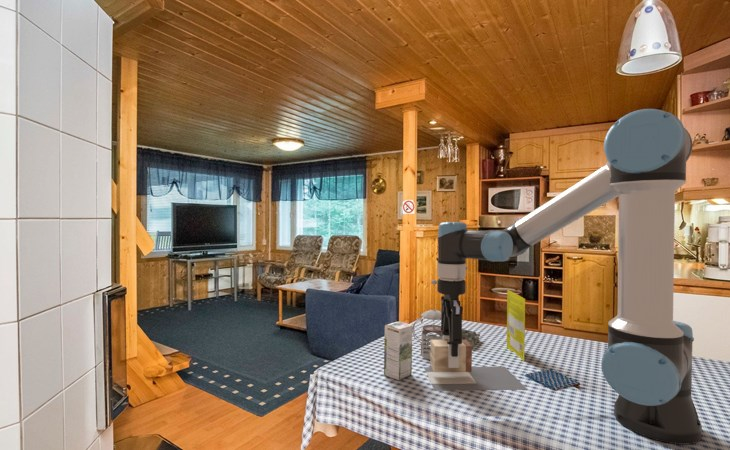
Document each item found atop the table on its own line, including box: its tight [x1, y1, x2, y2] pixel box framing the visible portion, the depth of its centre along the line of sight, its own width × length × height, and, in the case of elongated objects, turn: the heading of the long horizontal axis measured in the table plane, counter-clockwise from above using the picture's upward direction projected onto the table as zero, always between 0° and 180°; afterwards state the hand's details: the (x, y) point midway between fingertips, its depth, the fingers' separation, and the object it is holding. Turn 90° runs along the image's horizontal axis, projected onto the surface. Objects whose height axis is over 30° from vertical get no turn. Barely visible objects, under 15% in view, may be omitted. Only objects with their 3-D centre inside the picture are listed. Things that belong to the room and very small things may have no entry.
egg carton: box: [462, 327, 481, 348], centre depth 137 cm, size 11×8×4 cm
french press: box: [412, 279, 443, 360], centre depth 122 cm, size 10×12×25 cm
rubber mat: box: [423, 366, 528, 392], centre depth 105 cm, size 15×24×1 cm, turn 92°
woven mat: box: [524, 368, 581, 392], centre depth 104 cm, size 10×11×2 cm
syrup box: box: [383, 321, 414, 381], centre depth 108 cm, size 6×6×14 cm
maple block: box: [429, 339, 473, 372], centre depth 105 cm, size 10×6×7 cm, turn 92°
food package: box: [506, 289, 526, 362], centre depth 125 cm, size 15×1×20 cm, turn 179°
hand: (450, 362), depth 105 cm, fingers closed on maple block, 5 cm apart
